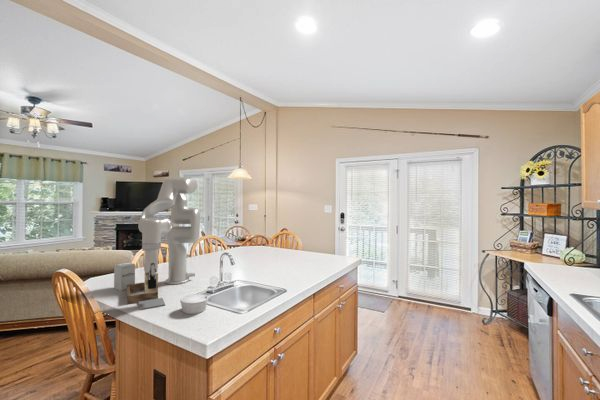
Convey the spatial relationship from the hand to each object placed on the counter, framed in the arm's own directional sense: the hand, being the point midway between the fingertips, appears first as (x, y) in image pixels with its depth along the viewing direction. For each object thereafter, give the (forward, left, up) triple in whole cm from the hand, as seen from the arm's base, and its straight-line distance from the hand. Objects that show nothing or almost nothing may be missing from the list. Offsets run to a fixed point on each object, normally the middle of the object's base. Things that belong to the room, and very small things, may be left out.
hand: (151, 286), depth 130 cm
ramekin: (-15, +17, -9) cm, 24 cm away
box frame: (+3, -16, -8) cm, 18 cm away
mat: (0, 0, -8) cm, 8 cm away
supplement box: (+10, -34, -8) cm, 37 cm away
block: (0, 0, -2) cm, 2 cm away
